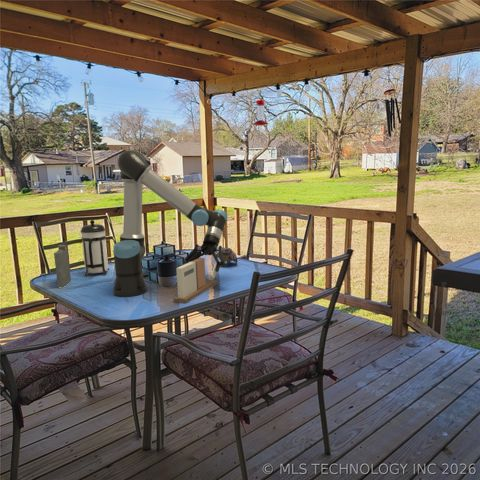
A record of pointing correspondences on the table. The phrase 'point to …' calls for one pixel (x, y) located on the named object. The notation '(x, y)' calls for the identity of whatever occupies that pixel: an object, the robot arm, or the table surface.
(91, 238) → the coffee press
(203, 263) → the orange book
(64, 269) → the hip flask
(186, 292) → the ticket holder
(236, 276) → the table surface
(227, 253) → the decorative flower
